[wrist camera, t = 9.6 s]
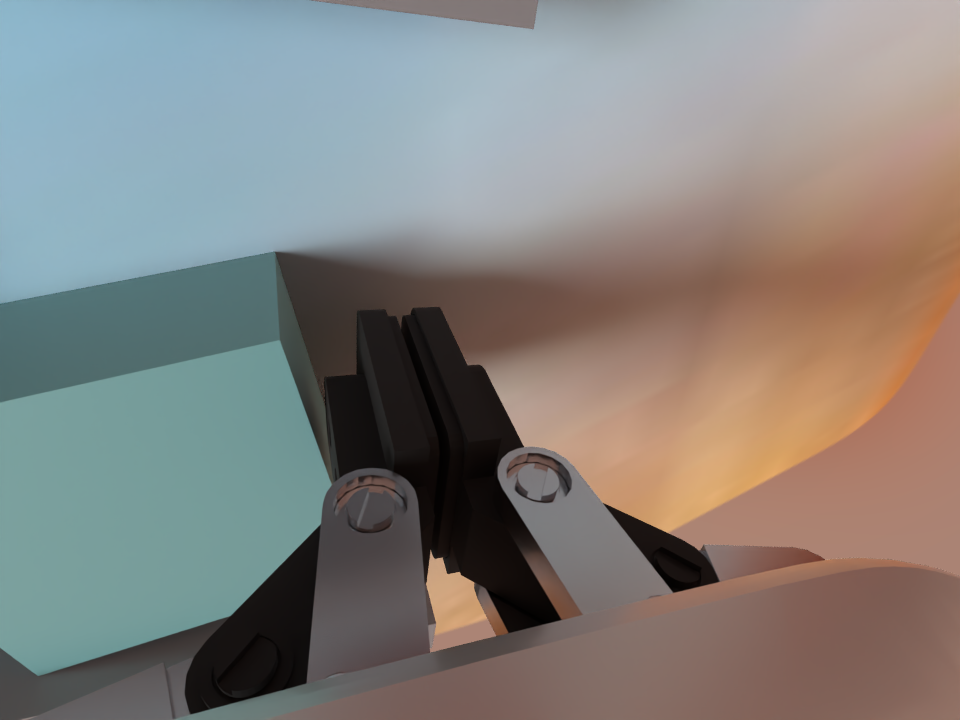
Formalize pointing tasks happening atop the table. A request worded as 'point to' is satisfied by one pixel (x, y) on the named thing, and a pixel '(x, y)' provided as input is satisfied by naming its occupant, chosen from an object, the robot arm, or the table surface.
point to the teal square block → (151, 456)
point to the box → (23, 695)
